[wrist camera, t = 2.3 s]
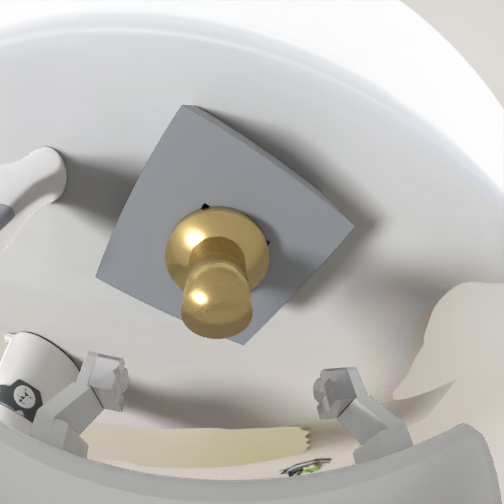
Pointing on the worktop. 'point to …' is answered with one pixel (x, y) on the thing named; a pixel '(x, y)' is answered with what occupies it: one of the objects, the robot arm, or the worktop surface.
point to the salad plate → (306, 467)
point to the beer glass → (28, 189)
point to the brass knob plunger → (217, 268)
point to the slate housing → (227, 195)
